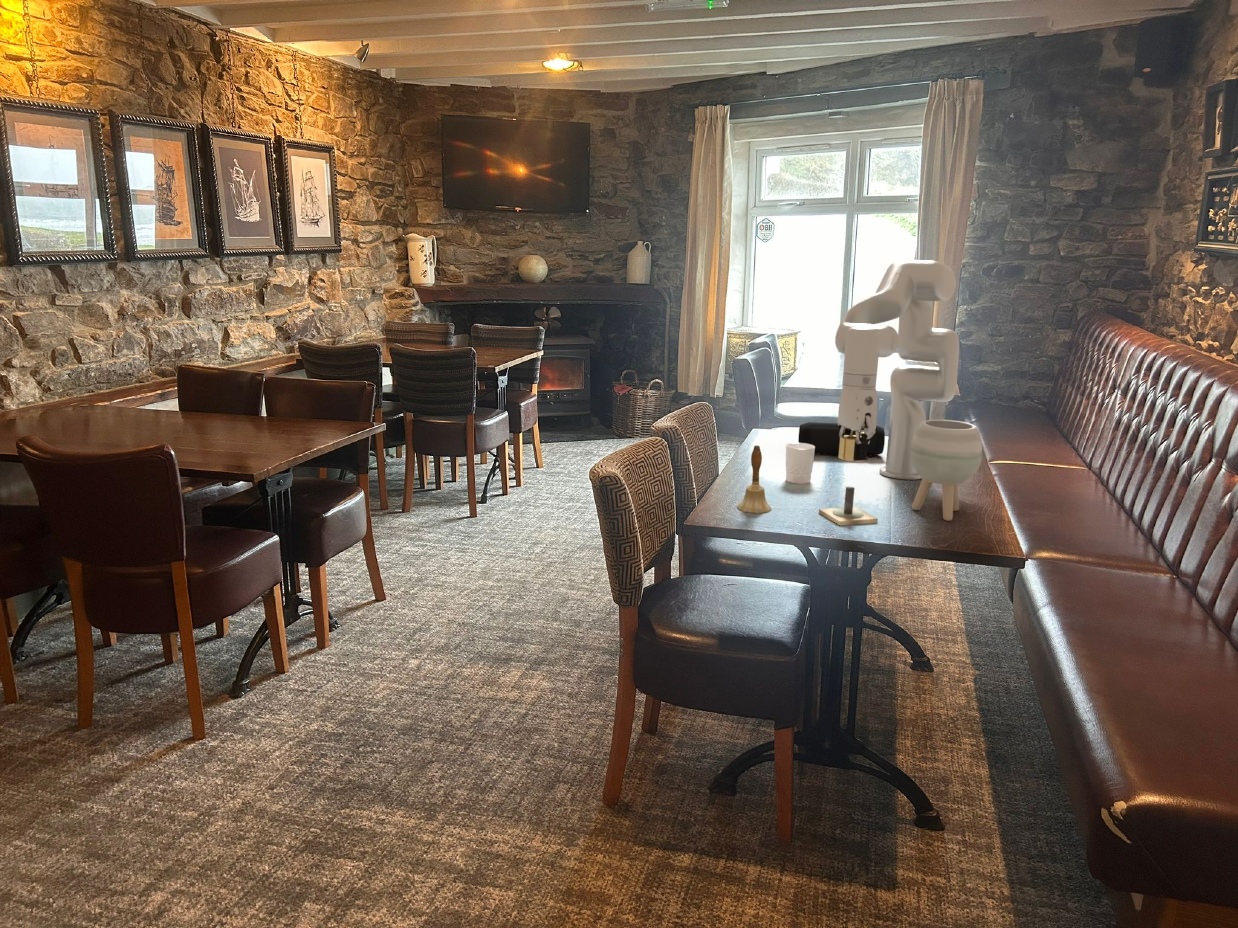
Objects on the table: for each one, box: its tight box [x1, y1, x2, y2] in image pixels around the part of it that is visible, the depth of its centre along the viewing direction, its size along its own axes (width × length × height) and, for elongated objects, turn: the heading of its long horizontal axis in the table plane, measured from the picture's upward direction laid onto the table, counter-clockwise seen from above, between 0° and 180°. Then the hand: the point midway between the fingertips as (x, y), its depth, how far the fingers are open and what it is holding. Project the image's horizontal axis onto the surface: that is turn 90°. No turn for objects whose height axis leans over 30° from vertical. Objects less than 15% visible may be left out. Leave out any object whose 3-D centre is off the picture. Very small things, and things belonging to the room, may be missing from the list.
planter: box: [910, 419, 983, 522], centre depth 207 cm, size 16×16×22 cm
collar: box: [838, 435, 866, 462], centre depth 200 cm, size 6×6×5 cm
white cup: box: [785, 442, 815, 485], centre depth 236 cm, size 8×8×10 cm
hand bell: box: [736, 445, 772, 514], centre depth 209 cm, size 8×8×16 cm
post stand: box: [818, 486, 879, 526], centre depth 204 cm, size 10×10×8 cm
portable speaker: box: [797, 421, 886, 457], centre depth 269 cm, size 26×10×10 cm, turn 83°
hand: (852, 456), depth 201 cm, fingers closed on collar, 6 cm apart
